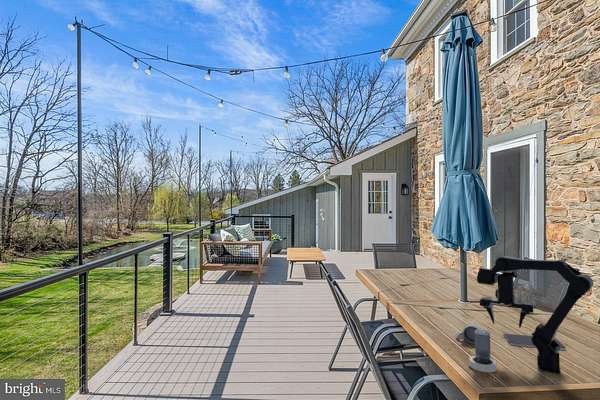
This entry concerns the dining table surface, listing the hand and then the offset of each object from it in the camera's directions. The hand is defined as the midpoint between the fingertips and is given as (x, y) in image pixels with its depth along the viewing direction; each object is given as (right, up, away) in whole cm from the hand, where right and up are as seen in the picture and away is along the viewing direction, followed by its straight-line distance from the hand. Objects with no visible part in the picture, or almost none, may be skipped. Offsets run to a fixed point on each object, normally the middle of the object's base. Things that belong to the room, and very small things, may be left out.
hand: (506, 325), depth 144 cm
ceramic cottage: (+59, -16, +84) cm, 104 cm away
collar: (-14, -13, -9) cm, 21 cm away
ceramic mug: (-6, -14, +19) cm, 25 cm away
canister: (-14, -12, -9) cm, 21 cm away
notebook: (+22, -14, +16) cm, 30 cm away
